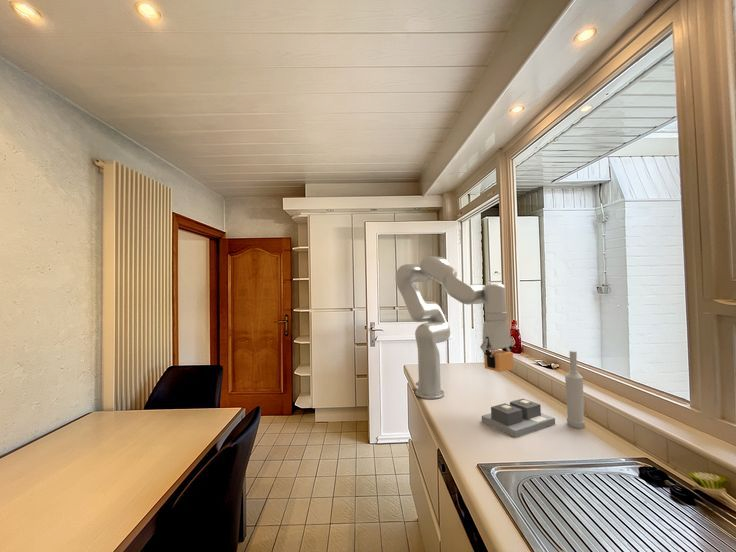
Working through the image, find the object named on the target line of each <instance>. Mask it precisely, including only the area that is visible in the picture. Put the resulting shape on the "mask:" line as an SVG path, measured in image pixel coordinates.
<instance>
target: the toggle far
mask: <svg viewBox="0 0 736 552" xmlns="http://www.w3.org/2000/svg"><path fill="white" fill-rule="evenodd" d="M526 400H527V399H526ZM526 400H522V401H520V404H523V405H529V404H530V402H529V401H530V400H529V401H526Z"/></svg>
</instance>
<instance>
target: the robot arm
mask: <svg viewBox="0 0 736 552" xmlns="http://www.w3.org/2000/svg"><path fill="white" fill-rule="evenodd" d="M457 276H458V272H457V270H456V268H453V267H452V266H450V263H449V261H448V259H446V258H444V257H442V256H435V255H434V256H432V255H431V256H430V255H429V256H425V257H424V258H422V259H421V260H420V263H418V264H416V263H415V264H414V263H409V264H408V263H407V264H404V265H401V266H399V267H398V269H397V270H396V273H395V284H396V287H397V288H398V289H397V290H398V291H399V293H400V295H401V296H402V299H403V302H404V304H405V306H406V309H407V310H408V314H409V316H410V317H411V319H412V321H414V322H416V323H421V324H419V325H418V326H417V327H416V329H415V332H414V336H415V341H416V342H415V343H416V347H417V348H416V349H417V363H418V364H417V365H418V366H417V367H418V368H417V369H418V381H416V382H415V385H416V386H417V389H415V395H416V396H417V397H418V398H421V399H427V400H431V399H432V400H434V399H435V400H436V399H440V398H443V397H444V396H445V391H444V390H443V389H441V359H440V357H441V355H440V350H439V348H438V346H437V344H439V343H444V342H446V341H448V340H449V339H450V337H451V330H450V326H449V323H448V322H447V319H446V317H445V315H444V312H443V310H442V308H441V307H440V305H439V304H438V303H437V302H435V301H434V300H425V298H424V297H423V295H422V293H421V291H420V289H419V288H418V287H417V286H416V285H415V284H414V283H424V282H429V281H432V280H434V281H436V282H437V283H439V284H440V285H441V286H443V289H444V290H445V292H446V294H447V295H449V296H450V297H452V298H453V299H454V300H456V301H457V302H459V303H461V304H463V305H469V306H470V305H478V304H484V315H485V316H484V319H485V321H484V322H483V327H482V343H481V345H480V349H481V351H483V354H484V353H485V355H486V356H487V366H488V367H491V368H495V357H493V355H494V352H495V350H501V351H507V352H512V350H513V347H514V345H515V341H514V340H513V339H512V338H511V331H510V330H511V329H510V324H509V321H508V314H507V313H508V312H507V311H508V309H507V297H506V287H505V285H504V284H502V283H501V284H500V283H498V284H497V283H495V284H494V283H493V284H492V283H491V284H468V283H466V282H463V281H462V280H460V279H459V278H458V277H457ZM423 322H425V323H423ZM490 351H491V353H490Z"/></svg>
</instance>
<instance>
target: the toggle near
mask: <svg viewBox="0 0 736 552" xmlns="http://www.w3.org/2000/svg"><path fill="white" fill-rule="evenodd" d="M508 405H509V404H508ZM508 405H503V406H501V409H504V410H506V411H508V410H512V407H510V406H508Z"/></svg>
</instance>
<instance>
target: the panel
mask: <svg viewBox="0 0 736 552" xmlns="http://www.w3.org/2000/svg"><path fill="white" fill-rule="evenodd" d="M522 400H526V401H529V402H530V404H529V405H523V404H520V401H522ZM503 405H508V406H510V407H512V410H508V411H506V410H504V409H501V406H503ZM541 407H542V406H541V404H540V403H538V402H534V401H532V400H530V399H529V400H528V399H525V398H520V399H516V400H512V401H510V402H509V404H508V403H502V404H496V405H494V406H490V413H486V414H483V415H481V422H482V423H484V424H486V425H488V426H490V427H493V428H495V429H497V430H498V431H499V430H500V431H502V432H503V433H505V434H508V435H509V436H512V437H514V438H518V437H521V436H524V435H526V434H530V433H533V432H536V431H538V430H542V429H544V428H547V427H550V426H553V425H555V424H556V418H555V417H553V416H550V415H548V414H545V413H542V411H541Z"/></svg>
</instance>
